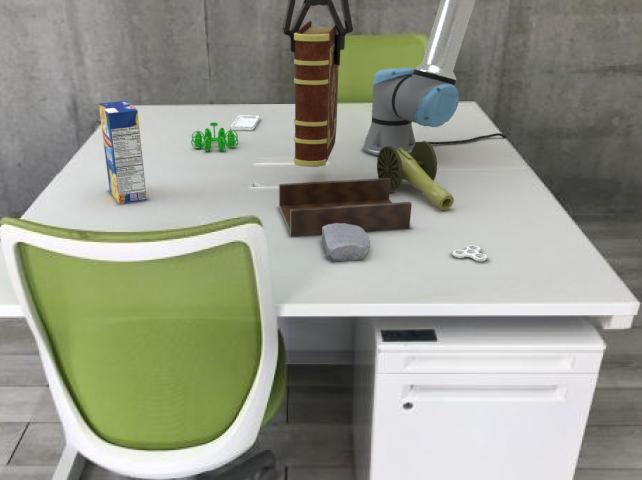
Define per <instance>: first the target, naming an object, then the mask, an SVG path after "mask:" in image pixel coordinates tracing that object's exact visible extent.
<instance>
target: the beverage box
mask: <svg viewBox="0 0 642 480" xmlns="http://www.w3.org/2000/svg"><path fill="white" fill-rule="evenodd" d="M98 110H99V118H100V126H101V134H102V140H103V148H104V155H105V164H106V173H107V179H108V188H109V192H110V193H111V195H112V196H113V197H114V199H115V200H116V202H117V203H118V204H119V205H124V204H131V203H136V202H137V203H138V202H144V201H145V202H146V201H147V200H148V197H147V188H146V181H145V180H146V179H145V169H144V160H143V158H144V157H143V149H142V139H141V130H140V120H139V111H138V109H137V108H136V107H134V106H133V105H132V104H131V103H130V102H128V101H127V100H120V101H111V102H101V103H98Z"/></svg>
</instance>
